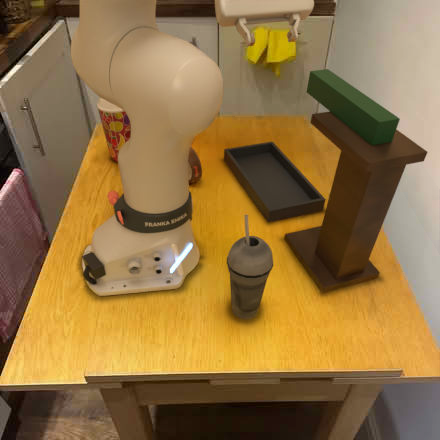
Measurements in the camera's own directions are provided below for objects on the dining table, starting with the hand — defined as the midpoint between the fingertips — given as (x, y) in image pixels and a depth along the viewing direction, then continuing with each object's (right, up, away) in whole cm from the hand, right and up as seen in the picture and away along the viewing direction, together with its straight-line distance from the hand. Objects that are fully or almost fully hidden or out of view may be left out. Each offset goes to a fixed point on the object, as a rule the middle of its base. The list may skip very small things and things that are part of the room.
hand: (272, 42), depth 82 cm
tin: (-20, -21, +19) cm, 35 cm away
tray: (+2, -24, +17) cm, 29 cm away
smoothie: (-35, -15, +24) cm, 45 cm away
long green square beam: (+10, -22, -16) cm, 29 cm away
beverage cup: (-6, -53, -10) cm, 55 cm away
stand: (+11, -43, -1) cm, 45 cm away
